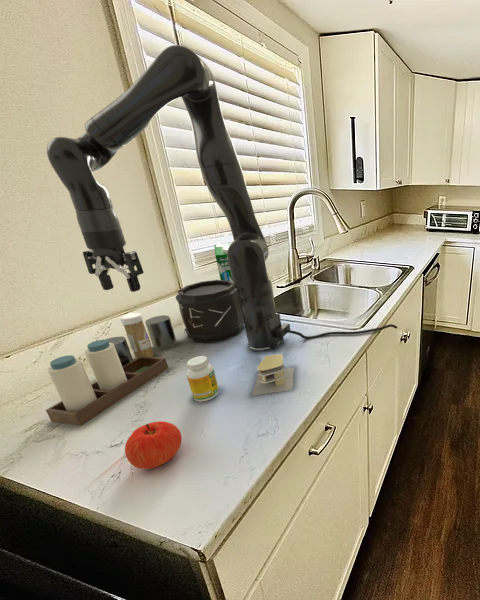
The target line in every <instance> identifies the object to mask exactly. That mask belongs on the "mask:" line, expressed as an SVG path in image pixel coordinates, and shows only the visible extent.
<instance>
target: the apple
mask: <svg viewBox="0 0 480 600" xmlns="http://www.w3.org/2000/svg"><path fill="white" fill-rule="evenodd" d="M182 439H183V436H182V432H181V430H180V429H179V428H178V427H177V426H176V425H175V424H174V423H171V422H168V421H161V420H160V421H153V422H148V423H146V424H143V425H141V426H139V427H137V428H136V429H135V430H134V431H132V433H131V434H130V436H129V437H128V439H127V440H126V442H125V446H124V454H125V457H126V460H127V461H128V463H130V465H132V466H133V467H135V468H136V469H140V470H141V469H142V470H147V469H148V470H149V469H154V468H157V467H160V466H162V465H164V464H166V463H167V462H169V461H170V460H172V459H173V458H174V457H175V456H176V454H177V453H178V451H179V449H180V448H181V445H182V441H183V440H182Z"/></svg>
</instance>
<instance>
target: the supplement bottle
mask: <svg viewBox="0 0 480 600" xmlns="http://www.w3.org/2000/svg"><path fill="white" fill-rule="evenodd" d="M186 364H187V369H188V370H187V371H186V378H187V381H188V384H189V388H190V391H191V395H192V398H193V400H194V401H196V402H199V403H202V402H207V401H209V400H212V399H214V398H215V397H216V396H217V395H218V394H219V391H220V389H219V386H218V381H217V377H216V374H215V370H214V366H213V364H210V363H209V360H208V357H207V356H205V355H199V356H195V357H193V358H190V359H188V361H187V362H186Z"/></svg>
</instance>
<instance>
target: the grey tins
mask: <svg viewBox="0 0 480 600" xmlns="http://www.w3.org/2000/svg"><path fill="white" fill-rule="evenodd" d="M144 325H145V328H146V331H147V334H148V337H149V340H150V343H151V346H152V349H154V350H155V351H156V350H157V351H158V350H159V351H160V350H166V349H169V348H172V347H174V346H176V344H177V343H178V341H177V338H176V334H175V331H174V327H173V324H172V320H171V317H170V315H166V314H163V315H157V316H153V317H150V318H148V319H145V321H144ZM104 340H108V342H109V343H113V344H114V346H115V349H116V352H117V354H118V357H119V360H120V362H121V365H122V366H124V365H126V364H128V363H130V362H131V361H133V360H134V358H133V355H132V353H131V350H130V347H129V344H128V342H127V338H126V337H124V336H114V337H113V336H112V337H108V338H105V339H104Z"/></svg>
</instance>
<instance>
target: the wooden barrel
mask: <svg viewBox="0 0 480 600" xmlns="http://www.w3.org/2000/svg"><path fill="white" fill-rule="evenodd" d="M175 300H176V301H177V303H178V308H179V309H178V310H179V312H180V313H179V314H180V317H181V320H182V322H183V325H184V327H185V328H184V331H185V333H186V335H187V337H188V338H189V339H192V342H196V343H203V344H204V343H205V344H207V343H208V344H209V343H215V342H220V341H225V340H227V339H229V338H232V337H235V336H236V335H238V334H239V333H240V332H241V331H242V330H243V328H244V325H245V324H244V320H243V315H242V310H241V305H240V300H239V295H238V290H237V288H236V287H235V285H234V283H232V282H231V281H227V280H221V279H213V280H204V281H199V282H195V283H192V284H188V285H185V286H184V287H182V288H180V289H179V290H178V294H176V296H175Z"/></svg>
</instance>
